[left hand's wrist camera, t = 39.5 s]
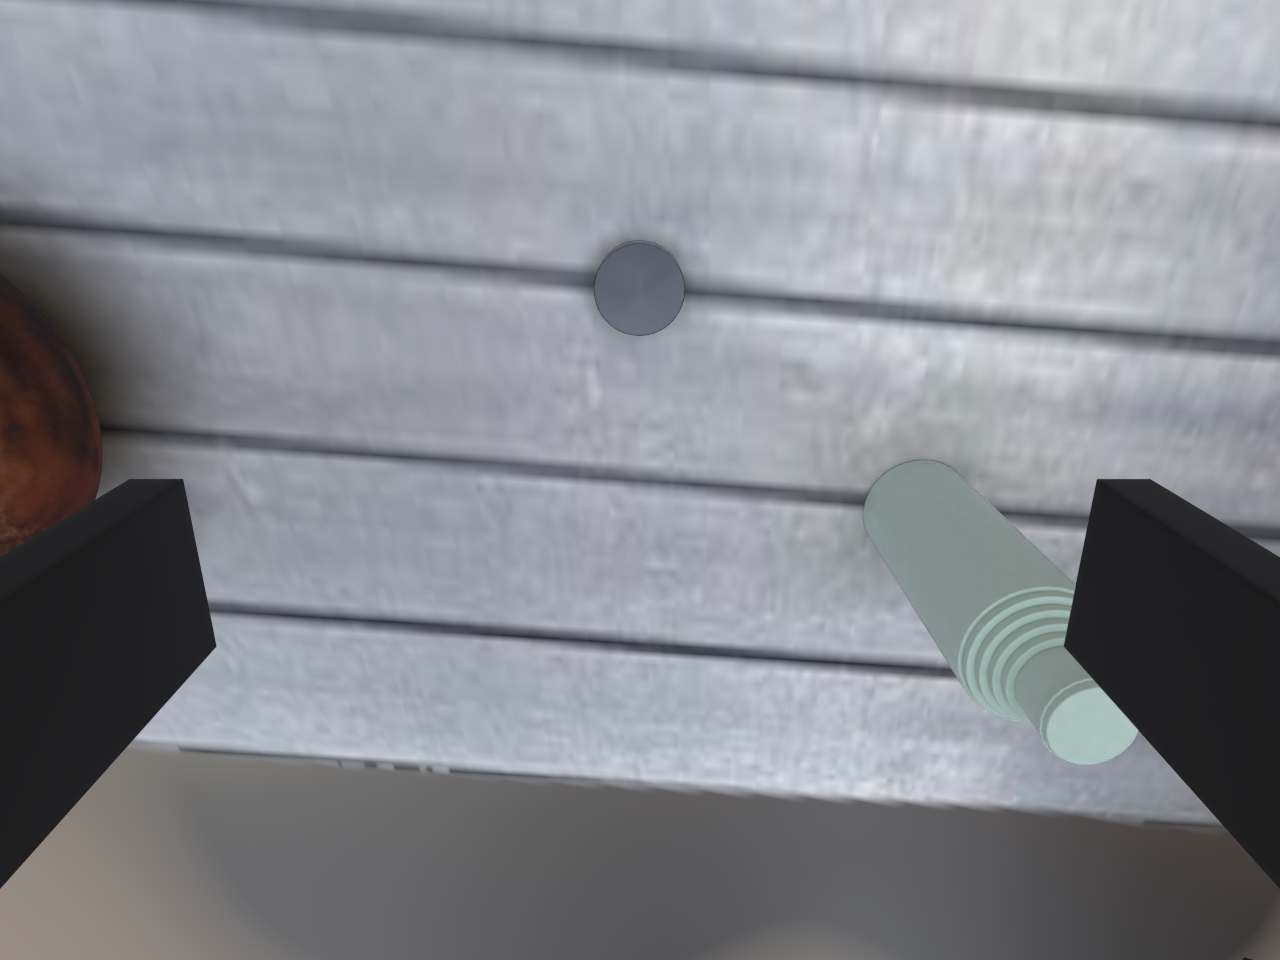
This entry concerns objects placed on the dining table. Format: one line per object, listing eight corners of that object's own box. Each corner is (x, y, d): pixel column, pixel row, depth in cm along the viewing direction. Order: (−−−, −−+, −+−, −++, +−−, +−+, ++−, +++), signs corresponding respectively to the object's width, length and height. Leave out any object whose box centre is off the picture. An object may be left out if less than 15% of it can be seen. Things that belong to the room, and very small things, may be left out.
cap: (643, 221, 42) (643, 223, 40) (700, 289, 43) (703, 294, 41) (577, 281, 43) (575, 286, 41) (635, 346, 44) (635, 354, 42)
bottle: (953, 566, 49) (1146, 808, 30) (851, 551, 48) (983, 786, 30) (984, 468, 46) (1212, 664, 28) (878, 451, 46) (1037, 639, 28)
